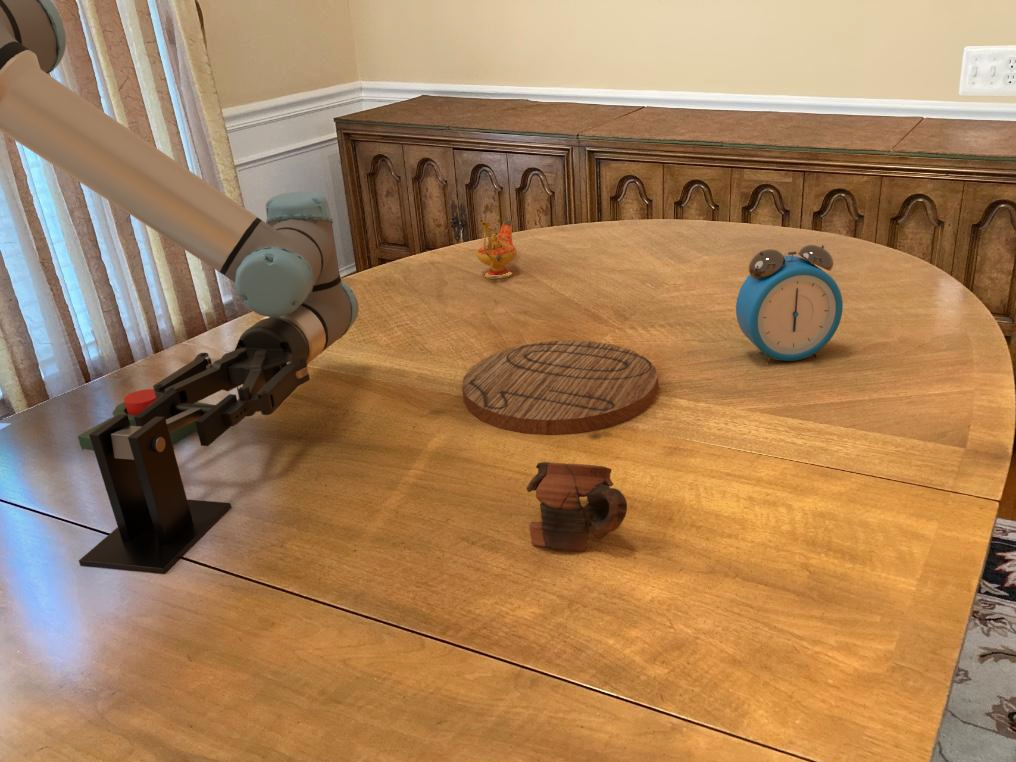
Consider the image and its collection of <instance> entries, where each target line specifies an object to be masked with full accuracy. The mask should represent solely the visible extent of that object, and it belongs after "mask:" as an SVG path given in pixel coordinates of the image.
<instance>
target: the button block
mask: <svg viewBox="0 0 1016 762" xmlns="http://www.w3.org/2000/svg"><path fill="white" fill-rule="evenodd" d="M194 404H201V405H214V404H212V403H207V402H200V401H198V402H196V403H194ZM118 414H125V415H128V418H129V422H130V425H131V426H136V423H135V419H134V417H135V416H137V415H130V414H128V412H127V409H126V406H125V402H124V401H123V402H122V403H120V404H118V405H116V407H115V408H114V410H113V411H112V417H110V418H107V420H104V421H103V422H101V423H98V424H97V425H96V426H94V427H93V426H92V428H90V429H88V430H86V431H84V432H82V433H81V434H79V435H77V438H78V442H79V445H80V448H81V450H82V451H84V450H89V451H94V449H93V446H92V443H91V439H90V436H89V434H91V433H92V432H94V431H95V430H96V429H98V428H99V427H101V426H102V425H104V424H105V423H106V422H108V421H109V420H111V419H112V418H114V417H115V416H116V415H118ZM195 432H197V428H196V424H195V421H194V422H192V423H189V424H187V425H185V426H183V427H181V428H179V429H177V430H175V431H173V432H171V433H169V434H170V438H171V442H172V445H173V446H174V445H175V444H177V443H179V442H180V441H182V440H183V439H185V438H187V437H188V436H190V435H192V434H193V433H195Z"/></svg>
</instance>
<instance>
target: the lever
mask: <svg viewBox="0 0 1016 762" xmlns="http://www.w3.org/2000/svg"><path fill="white" fill-rule="evenodd" d="M215 405H216V404H213V405H201V404H185V403H173V404H172V405H171V408H170V412H171V414H172V416H173V417H171V418H169V419H166V423H167V427H168V431H169V433H171V432H173V431H175V430H177V429H179V428H181V427H183V426H185V425H187V424H189V423H192V422H194V421H196V420H198V419H199V418H200V417H201V416H203V415H204V414H205V413H206V412H208V411H209V410H210V409H211V408H213V407H214V406H215ZM140 428H141V427H140V426H128V427H126V428H124V429H122V430H119V431H117V432H115V433H112V434H111V439H112V446H113V452H114V458H116V459H130V460H134V457H133V454H132V450H131V447H130V443H129V440H128V437H129V436H130V435H132V434H133V433H134V432H136V431H137V430H138V429H140Z"/></svg>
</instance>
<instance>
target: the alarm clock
mask: <svg viewBox="0 0 1016 762" xmlns="http://www.w3.org/2000/svg"><path fill="white" fill-rule="evenodd" d="M787 254H788V255H784V254H783V253H782V252H781V251H780V250H778V249H775V248H767V249H763V250H760V251H758V252H757V253H756V254H755V255H753V257H752V258H751V260H750V261H749V264H748V272H749V274H748V275H747V277H746V278H745V280H744V281H743V283H742V285H741V286H740V289H739V291H738V294H737V298H736V303H735V315H736V320H737V323H738V327H739V328H740V330H741V332H742V333H743V334H744V336H745V337H746V338H747V339H748V340H749V341H750V342H751V343H752V344H753V345H754V346H755V347H756V348H757V349H758V350H759V351H760V352H761V353H763V355H765V356H767V357H768V359H767V361H766V364H768V365H769V364H771V362H772V361H773V360H776V361H780V362H795V361H800V360H804V359H807V358H809V357H811V356H813V358H815V359H816V358H817V353H818V352H819V351H820V350H822V349H823V348H824V347H825V346H826V345H827V344H828V343H829V342H830V341H831V339H832V338H833V337H834V335H835V334H836V332H837V330H838V328H839V327H840V326H839V325H840V323H841V320H842V316H843V309H844V308H843V307H844V305H843V296H842V292H841V290H840V287H839V286H838V284H837V282H836V281H835V280H834V278H833V277H832V276H831V275H830V274H828V273H827V272H826V271H829V272H831V271H832V269H833V267H834V258H833V255H832V254H831V253H830V252H829V251H828V250H827V249H826V248H825V245H824V244H821V245H818V244H806V245H805V246H803V247H801V248H800V249H799V250H798V252H797V251H796V250H795V251H788V252H787ZM797 255H798V256H797ZM823 269H824V270H826V271H824V270H823Z"/></svg>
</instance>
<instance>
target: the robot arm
mask: <svg viewBox="0 0 1016 762" xmlns="http://www.w3.org/2000/svg"><path fill="white" fill-rule="evenodd" d="M66 46H67V35H66V30H65V27H64V23H63V19H62V17H61V14H60V13H59V11H58V9H57V7H56V5H55V4H54V3H53V1H52V0H0V132H2V133H3V134H5V135H6V136H8V137H9V138H11V139H12V140H14V141H15V142H17V143H18V144H20V145H22V146H23V147H24V148H26V149H28V150H29V151H30V152H32V153H34V154H36V155H37V156H38V157H41V158H42V159H43V160H45V161H46V162H48V163H49V164H51V165H53V166H54V167H56V168H57V169H59V170H60V171H62V172H63V173H65V174H66V175H68V176H69V177H72V178H73V179H75V180H76V181H77V182H78V183H81V184H82V185H84V186H85V187H87V188H88V189H90V190H91V191H93V192H94V193H96V194H98V195H99V196H101V197H102V198H104V199H105V200H107V201H109V202H110V203H111V204H113V205H115V206H116V207H117V208H119V209H121V210H122V211H124V212H125V213H127V214H128V215H130V216H132V217H133V218H134V219H136V220H138V221H139V222H141V223H143V224H144V225H146V226H147V227H148V228H150V229H152V230H153V231H154V232H156V233H158V234H159V235H161V236H163V237H164V238H165V239H167V240H169V241H170V242H172V243H173V244H175V245H176V246H178V247H180V248H181V249H182V250H185V251H186V252H187V253H189V254H190V255H192V256H193V257H195V258H196V259H199V260H200V261H201V262H203V263H204V264H206V265H208V266H209V267H211V268H212V269H214V270H215V271H217V272H218V273H220V274H221V275H223V276H224V277H226V278H227V279H229V280H230V281H232V282H233V283H234V284H235V290H236V293H237V294H238V296H239V298H240V300H241V301H242V303H243V304H244V305H245V307H247V308H248V309H249V310H251V311H252V312H254V313H256V314H258V315H260V316H264V317H261V318H260V320H259V321H257V322H256V323H254V324H253V325H251V326H250V327H249V328H247V329H246V330H245V331H244V332H242V334H241V335H240V337H239V339H238V341H237V344H236V346H235V348H234V350H232V351H229V352H226V353H224V354H223V355H222V356H221V357H220V358H219V357H218V358H211V356H210V355H209V353H208V352H200V353H198V354H197V355H196V356H195V358H194V359H193V360H192V361H190V362H189V363H187V364H186V365H184V366H182V367H181V368H179V369H177V370H175V371H174V372H173V373H171V374H169V375H168V376H166V377H164V378H163V379H161V380H160V381H158V382H156V383H155V384H153V385H152V389H154V392H155V396H156V401H154V402H153V403H152V404H150V405H149V406H148V407H147V408H146V409H145V410H144V411H142V412H141V413H139V414H138V415H137V416H135V417H134V419H135V423H136V426H140V427H142V426H144V425H145V424H146V423H148V422H149V421H151V420H152V419H153V418H155V417H165V419H169V418H171V417H173V416H172V414H171V412H170V408H171V405H172V404H173V403H185V404H194V403H196V402H200V401H202V400H204V399H206V398H208V397H210V396H212V395H215V394H216V393H218V392H220V391H224V392H230V391H232V390H234V389H236V391H237V394H234V393H233V394H232V393H228V395H226V396H225V397H224V398H223V399H221V400H220V401H219V402H218V403H216V404H214V405H215V406H214V407H213V408H211V409H210V410H209V411H208V412H206V413H205V414H204V415H203V416H201V417H200V418H199V419H198V420H196V421H195V424H196V428H197V430H196V432H197V436H198V439H199V444H200V446H201V447H209V446H210V445H211V444H212V443H213V442H215V441H216V440H217V439H218V438H220V436H222V435H223V434H224V433H225V432H226V431H228V430H229V429H230V428H231V427H234V426H236V425H238V424H240V423H241V421H242V420H244V419H245V418H246V417H247V418H248V417H252V416H254V415H255V414H256V412H260V414H261V415H263V416H270V415H272V414H273V413H274V412H275V411H276V410H277V409H278V408H280V406H281V405H282V404H283V403H284V402H285V401H286V400H287V398H288V397H290V396H291V394H292V393H293V392H294V391H295V390H297V388H298V387H299V386H302V385H303V384H305V383H307V382H309V381H310V380H311V378H310V371H309V367H308V365H309V364H310V363H311V362H313V361H314V360H315V359H316V358H317V357H318V356H319V355H321V354H322V353H323V352H324V351H326V350H327V349H328V348H329V347H330V346H332V345H333V344H334V343H335V342H337V341H338V340H339V339H341V338H343V336H345V335H346V334H347V332H348V331H349V329H350V328H351V327H352V326H353V325H354V323H355V322H356V320H357V318H358V315H359V307H360V305H359V301H358V298H357V296H356V294H355V292H353V290H352V288H351V286H349V285H348V284H347V283H346V282H345V281H343V280H342V278H341V274H340V268H339V261H338V260H339V259H338V254H337V247H336V240H335V234H334V227H333V224H334V220H333V218H332V215H331V211H330V207H329V202H328V199H327V198H326V197H325V196H324V195H323V194H321V193H319V192H316V191H292V192H285V193H280V194H276V195H274V196H271V197H270V198H269V199H268V200H266V203H265V213H266V221H264V220H262V219H261V218H259V217H258V216H257V215H256V214H254V213H253V212H251V211H250V210H249V209H246V207H244V206H242V205H241V204H239V203H238V202H236V201H235V200H234V199H232V198H231V197H229V196H228V195H226V194H224V193H223V192H222V191H221V190H219V189H217V188H215V187H214V186H213V185H212V184H210V183H208V182H207V181H205V180H204V179H203V178H201V177H200V176H198V175H197V174H195V173H193V172H192V171H191V170H189V169H188V168H187V167H185V166H183V165H182V164H181V163H179V162H178V161H176V160H175V159H173V158H172V157H170V156H169V155H167V154H166V153H165V152H163V151H162V150H160V149H158V148H157V147H156V146H154V145H153V144H151V143H150V142H148V141H146V140H145V139H144V138H143V137H141V136H139V135H138V134H137V133H135V132H133V131H132V130H131V129H129V128H128V127H126V126H125V125H123V124H122V123H120V122H119V121H117V120H116V119H114V118H113V117H112V116H110V115H109V114H107V113H106V112H105V111H103V110H101V109H100V108H98V107H97V106H96V105H94V104H92V103H91V102H89V101H88V100H86V98H83V97H82V96H81V95H79V94H77V92H75V91H73V90H72V89H70V88H69V87H67V86H66V85H64V83H62V82H60V81H59V80H57V79H56V78H54V77H53V76H52V75H50V73H51V72H53V71H54V70H55V69H56V68H57V67H58V66H59V65H60V64H61V61H62V60H63V58H64V55H65V53H66V52H65V51H66ZM237 395H238V397H237Z"/></svg>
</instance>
